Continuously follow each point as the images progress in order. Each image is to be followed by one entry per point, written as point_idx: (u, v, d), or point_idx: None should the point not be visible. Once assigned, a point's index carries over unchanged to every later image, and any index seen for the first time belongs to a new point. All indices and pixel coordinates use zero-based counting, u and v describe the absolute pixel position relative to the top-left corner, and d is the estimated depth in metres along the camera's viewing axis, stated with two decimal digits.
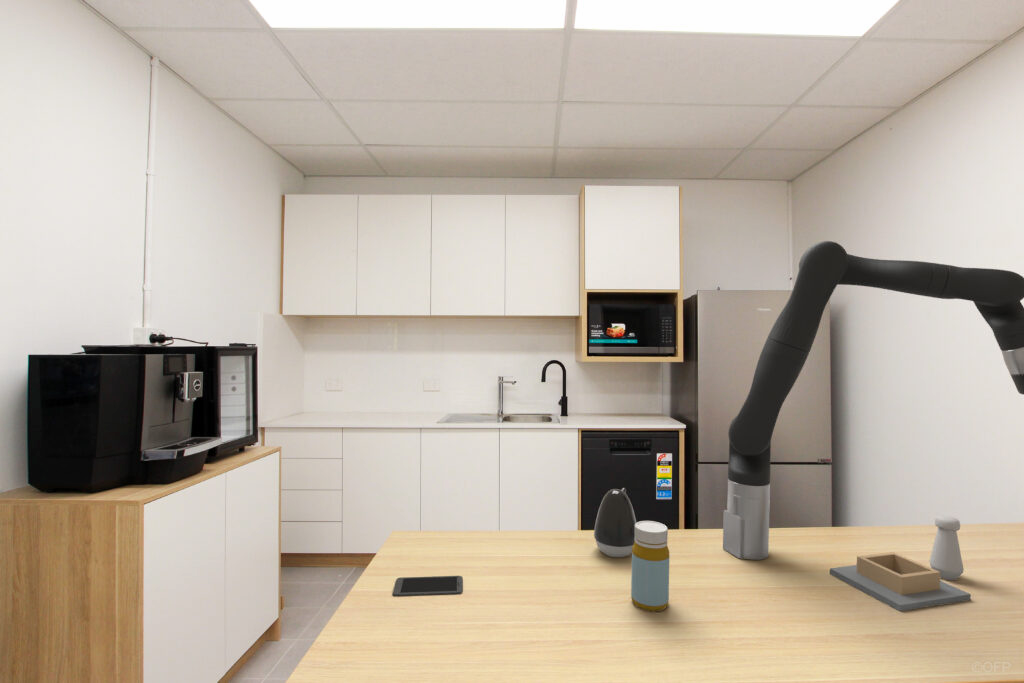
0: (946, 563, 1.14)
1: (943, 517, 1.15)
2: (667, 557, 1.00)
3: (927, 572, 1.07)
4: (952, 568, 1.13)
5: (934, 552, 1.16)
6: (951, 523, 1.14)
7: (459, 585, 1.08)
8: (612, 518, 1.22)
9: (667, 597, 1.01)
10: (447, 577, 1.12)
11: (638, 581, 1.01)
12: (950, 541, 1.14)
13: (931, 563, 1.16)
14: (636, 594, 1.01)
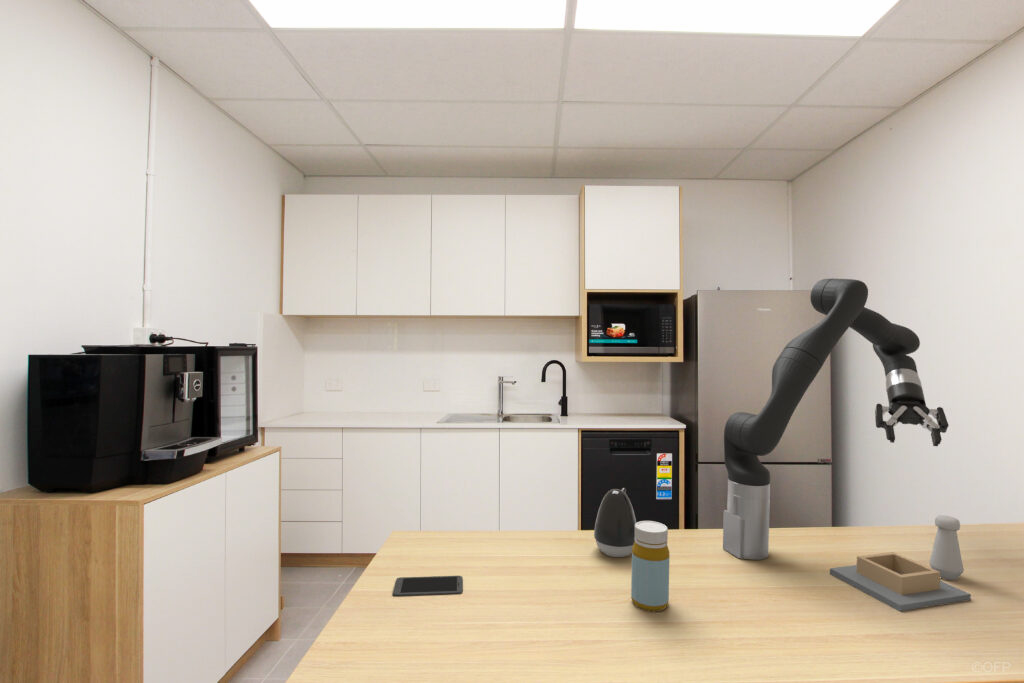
0: (946, 563, 1.14)
1: (943, 517, 1.15)
2: (667, 557, 1.00)
3: (927, 572, 1.07)
4: (952, 568, 1.13)
5: (934, 552, 1.16)
6: (951, 523, 1.14)
7: (459, 585, 1.08)
8: (612, 518, 1.22)
9: (667, 597, 1.01)
10: (447, 577, 1.12)
11: (638, 581, 1.01)
12: (950, 541, 1.14)
13: (931, 563, 1.16)
14: (636, 594, 1.01)
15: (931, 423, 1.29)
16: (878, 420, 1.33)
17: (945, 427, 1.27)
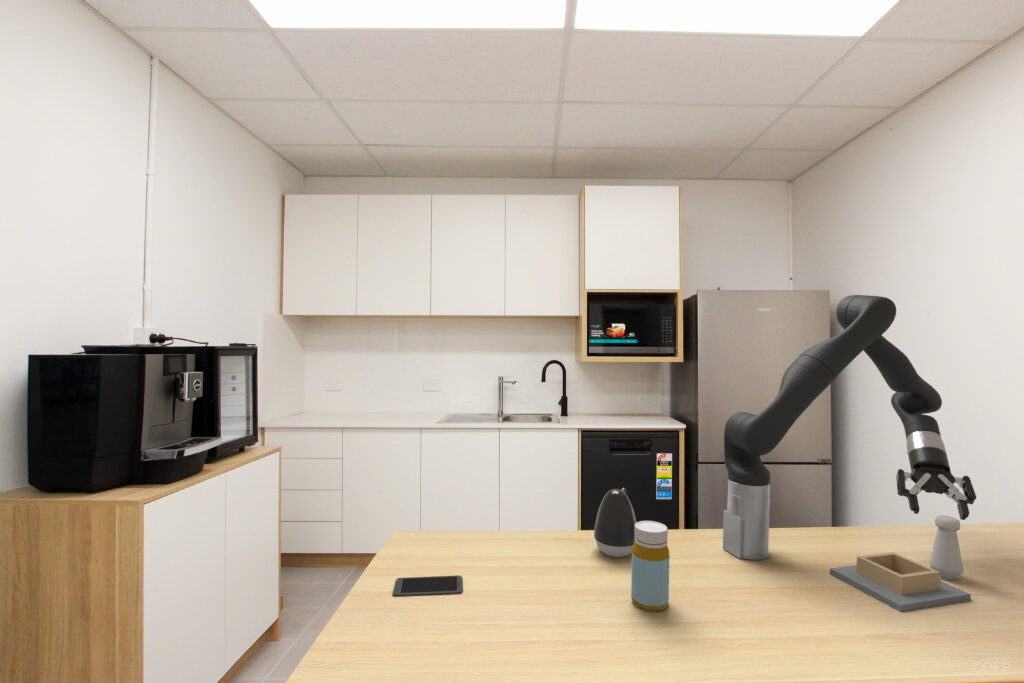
0: (946, 563, 1.14)
1: (943, 517, 1.15)
2: (667, 557, 1.00)
3: (927, 572, 1.07)
4: (952, 568, 1.13)
5: (934, 552, 1.16)
6: (951, 523, 1.14)
7: (459, 585, 1.08)
8: (612, 518, 1.22)
9: (667, 597, 1.01)
10: (447, 577, 1.12)
11: (638, 581, 1.01)
12: (950, 541, 1.14)
13: (931, 563, 1.16)
14: (636, 594, 1.01)
15: (957, 494, 1.21)
16: (900, 488, 1.25)
17: (973, 499, 1.20)
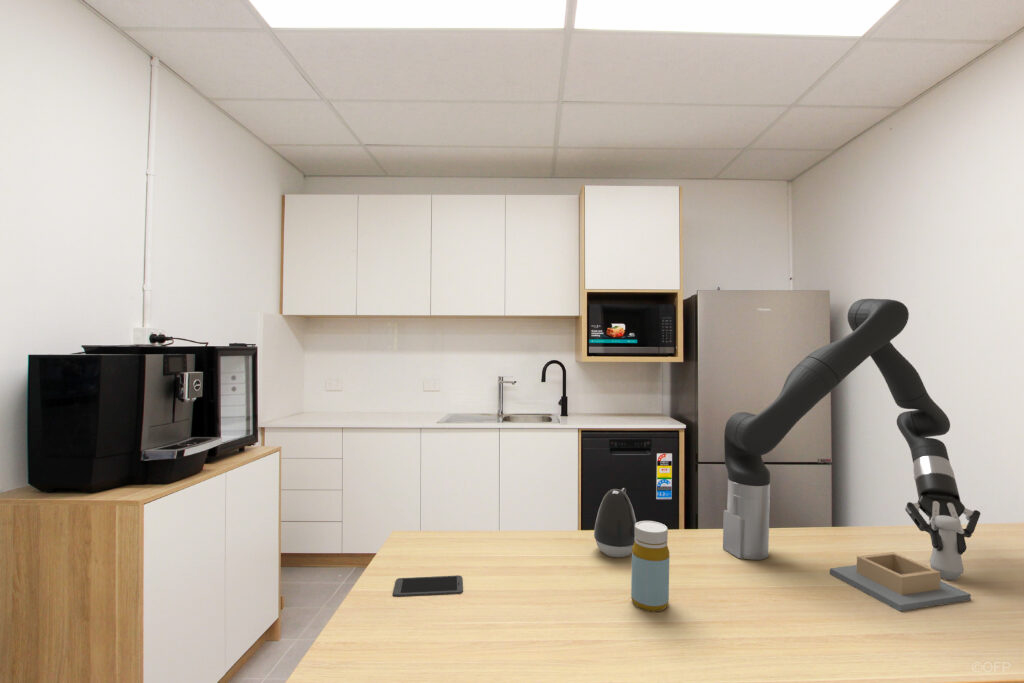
0: (946, 563, 1.14)
1: (943, 517, 1.15)
2: (667, 557, 1.00)
3: (927, 572, 1.07)
4: (952, 568, 1.13)
5: (934, 552, 1.16)
6: (951, 523, 1.14)
7: (459, 585, 1.08)
8: (612, 518, 1.22)
9: (667, 597, 1.01)
10: (447, 577, 1.12)
11: (638, 581, 1.01)
12: (950, 541, 1.14)
13: (931, 563, 1.16)
14: (636, 594, 1.01)
15: None
16: (922, 523, 1.18)
17: (970, 532, 1.14)
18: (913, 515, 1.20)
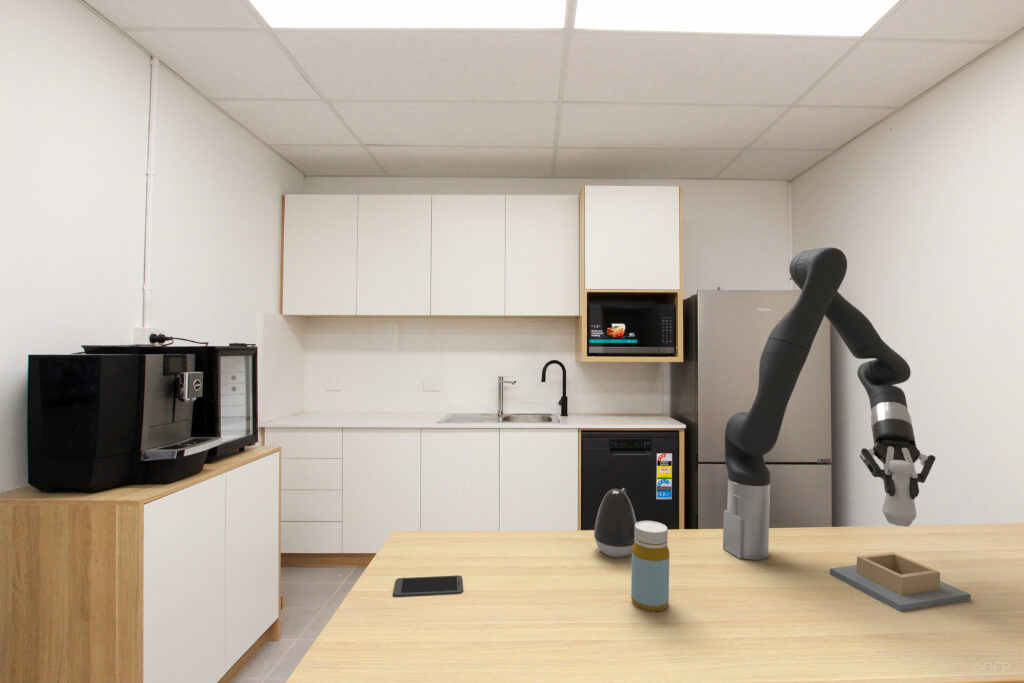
0: (898, 508, 1.09)
1: (896, 461, 1.11)
2: (667, 557, 1.00)
3: (927, 572, 1.07)
4: (904, 513, 1.08)
5: (887, 498, 1.11)
6: (904, 466, 1.09)
7: (459, 585, 1.08)
8: (612, 518, 1.22)
9: (667, 597, 1.01)
10: (447, 577, 1.12)
11: (638, 581, 1.01)
12: (903, 485, 1.09)
13: (884, 509, 1.12)
14: (636, 594, 1.01)
15: None
16: (875, 468, 1.13)
17: (924, 477, 1.10)
18: (867, 461, 1.15)
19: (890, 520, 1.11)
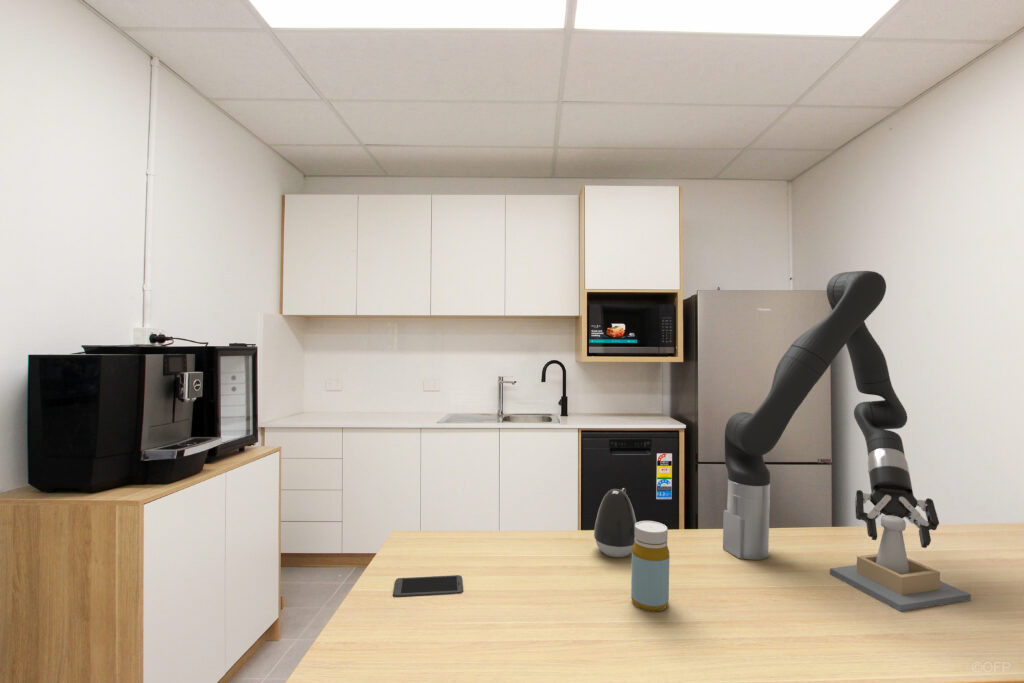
0: (891, 565, 1.10)
1: (889, 517, 1.12)
2: (667, 557, 1.00)
3: (927, 572, 1.07)
4: (897, 569, 1.09)
5: (880, 553, 1.12)
6: (896, 523, 1.10)
7: (459, 585, 1.09)
8: (612, 518, 1.22)
9: (667, 597, 1.01)
10: (446, 577, 1.12)
11: (638, 581, 1.01)
12: (895, 542, 1.10)
13: None
14: (636, 594, 1.01)
15: (919, 519, 1.10)
16: (858, 512, 1.15)
17: (935, 525, 1.09)
18: (856, 502, 1.17)
19: None
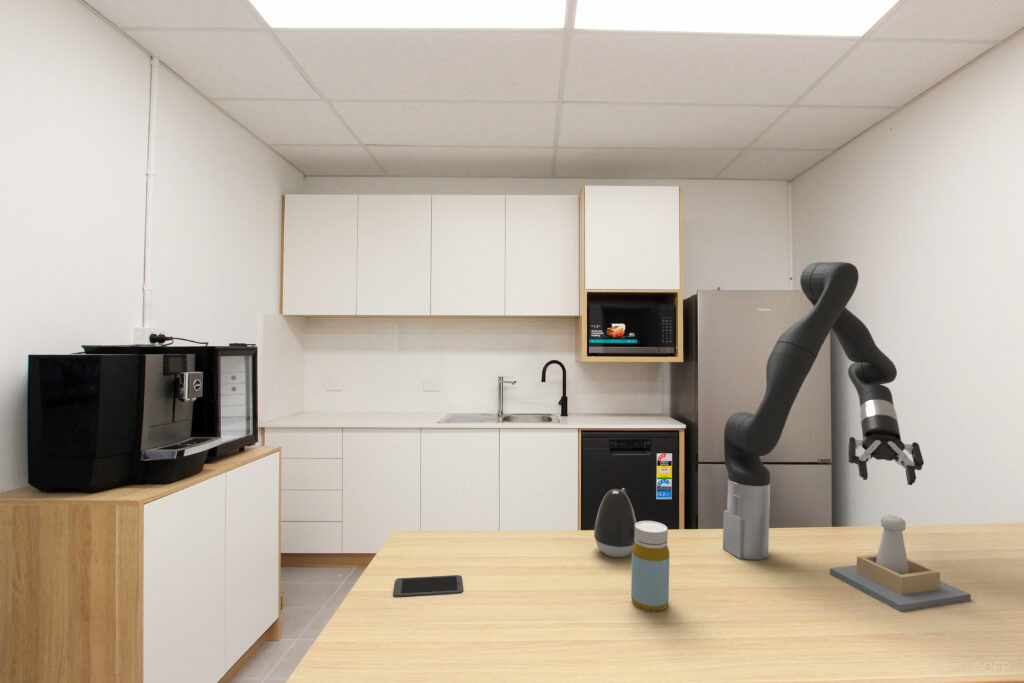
0: (891, 565, 1.10)
1: (889, 517, 1.12)
2: (667, 557, 1.00)
3: (927, 572, 1.07)
4: (897, 569, 1.09)
5: (880, 553, 1.12)
6: (896, 523, 1.10)
7: (459, 585, 1.09)
8: (612, 518, 1.22)
9: (667, 597, 1.01)
10: (446, 577, 1.12)
11: (638, 581, 1.01)
12: (895, 542, 1.10)
13: None
14: (636, 594, 1.01)
15: (906, 460, 1.21)
16: (851, 455, 1.26)
17: (920, 464, 1.20)
18: (849, 447, 1.28)
19: None
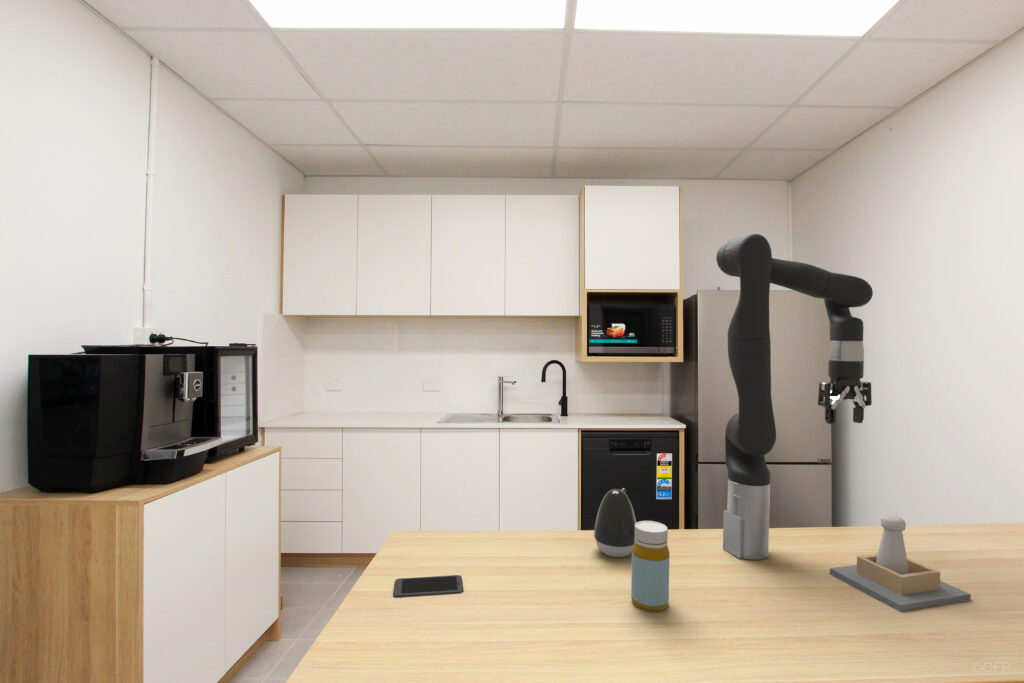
0: (891, 565, 1.10)
1: (889, 517, 1.12)
2: (667, 557, 1.00)
3: (927, 572, 1.07)
4: (897, 569, 1.09)
5: (880, 553, 1.12)
6: (896, 523, 1.10)
7: (459, 584, 1.09)
8: (612, 518, 1.22)
9: (667, 597, 1.01)
10: (446, 577, 1.12)
11: (638, 581, 1.01)
12: (895, 542, 1.10)
13: None
14: (636, 594, 1.01)
15: (861, 402, 1.34)
16: (826, 404, 1.31)
17: (868, 405, 1.35)
18: (824, 393, 1.31)
19: None
